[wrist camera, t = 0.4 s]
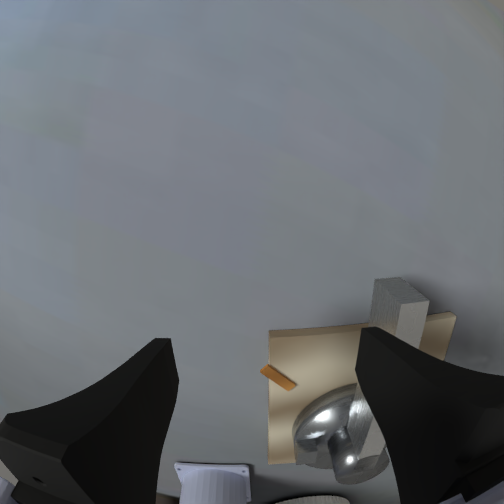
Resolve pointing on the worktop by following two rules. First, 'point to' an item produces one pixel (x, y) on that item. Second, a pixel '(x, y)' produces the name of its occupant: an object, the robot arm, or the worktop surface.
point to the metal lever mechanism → (358, 398)
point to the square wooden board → (322, 371)
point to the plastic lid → (317, 500)
